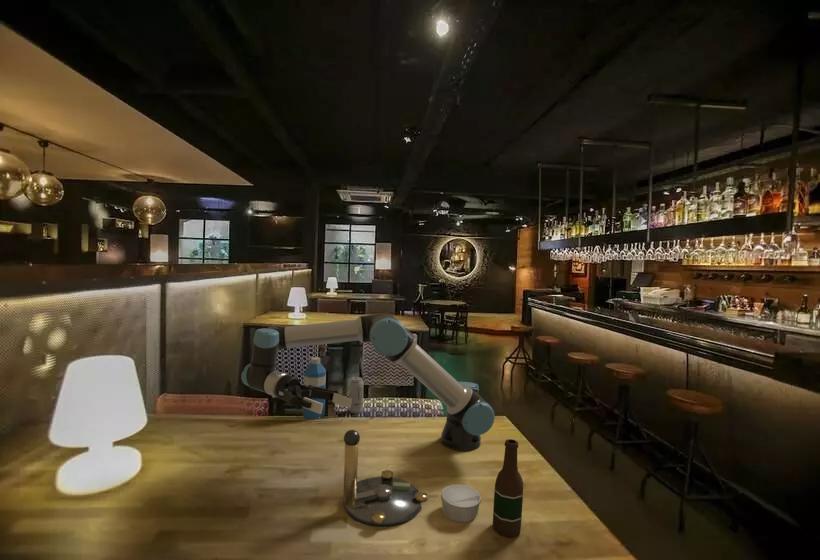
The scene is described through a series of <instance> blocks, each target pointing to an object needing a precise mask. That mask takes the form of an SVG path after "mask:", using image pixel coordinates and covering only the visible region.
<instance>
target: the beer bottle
mask: <svg viewBox="0 0 820 560" xmlns="http://www.w3.org/2000/svg"><path fill="white" fill-rule="evenodd" d="M504 446H505V447H504V449H505V450H504V456H503V463H502V469H501V470H500V471H499V472H498V473H497V476H496V479H495V483H494V492H493V511H492V513H493V514H492V530H493V531H494V532H495V533H497V534H498V535H499V536H501V537H504V538H508V539H509V538H510V539H512V538H515V537H516V538H517V537H518V536H520V534H521V529H522V528H521V527H522V518H523V517H522V515H523V501H524V480H523V477H522V474H520V472H519V469H518V448H519V442H518V441H517V440H515V439H512V438H510V439H505V442H504Z"/></svg>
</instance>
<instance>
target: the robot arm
mask: <svg viewBox="0 0 820 560" xmlns="http://www.w3.org/2000/svg"><path fill="white" fill-rule="evenodd" d="M356 341H359V342H360V343H361V344H362V343H363V344H365V343H371V345H372V347H373V348H374V350H375V351H377V352H378V353H380V354H381V355H382V356H384V357H385V358H387V359H388V360H389V361H390V362H391V363H394V364H395V363H399V364H400V365H401V366H402V367H404V369H406V371H408V372H409V373H410V374H411V375H412V376H413V377H415V378H416V379H417V380H418V381H419V382H420V383H421V384H422V385H424V386H425V388H426V389H428V390H429V391H430V392H431V393H432V394H433V395H434V396H436V397H437V398H438V400H440V401H441V402H442V403H444V405H446V421H445V424H444V426H443V428H442V432H441V435H440V441H441V442H440V443H441V444H442V445H443V446H445V447H447V448H448V449H451V450H455V451H464V452H465V451H466V452H467V451H472V450H476V449H478V448H479V447H481V442H482V441H481V440H482V437H481V435H484V434H486V433H487V432H489V431H490V430H491V429H492V428H493V425H494V423H495V418H496V417H495V416H496V415H495V411H494V408H493V407H492V406H491V405H490V403H488V402H487V401H485V399H484V398H483V397H482V396H481V395H480V394H479V391H480V388H479V384H478V383H475V382H471V381H470V382H469V381H457V380H456V378H454V377H453V376H452V375H451V374H450V373H449V372H447V371H446V369H445V368H444V367H442V365H440V364H439V363H438V362H437V361H436V360H435V359H434V358H433V357H432V356H431V355H429V354H428V353H427V352H426V351H425V350H424V349H422V348H421V346H420V345H419V344H417V343H416V341H417V340H416V336H415V335H414V334H413V333H412V332H411V331H410V330H409V329H408V328H407V327H405V325H404V324H403V323H402V322H401V321H400V320H398V318H397V317H395V316H394V315H393V314H391V313H389V312H379V313H373V314H369V315H367V314H366V315H359V316H358V317H357V318H356V319H349V320H340V321H339V320H338V321H329V322H321V323H311V324H301V325H293V326H283V327H277V326H269V327H267V328H265V327H264V328H258V329H256V330H255V331H254V337H253V342H252V353H251V361H250V363H248V364H247V365H246V366H245V367H244V368H243V371H242V372H241V377H240V378H241V381H242V383H243V384H244V385H245V386H247V387H249V388H250V389H252V390H255V391H259V392H261V393H262V392H263V393H264V394H267V395H269V396H271V397H272V398H273V399H274V398H277V399H279V400H282V401H285V403H287V404H288V405H289V406H290V407H291V408H292V407H293V408H294V407H295V409H296V410H301V408H302V409H303V408H305V409H308V410H310V411H313V412H316V413H318V414H321V413H322V408H323V404H322V403H320V402H317V401H314V400H312V399H313V398H317V399H324V400H325V401H331V402H332V403H334V404H337V405H338V406H339V405H340V406H343V407H345V408H348V409H349V408H350V407H351V403H352V399H351V398H350V397H348V396H345V395H344V394H343V395H342V394H339V391H338V390H337V389H335V390H333V389H327V388H325V389H324V388H319V387H315V386H312V385H309V386H306V385H304V384H301V382H300V379H299V378H298V377H295V376H293V375H290V374H288V373H285V372H281V371H278V370H276V369H275V367H276V363H277V362H276V360H277V355H278V350H287V349H291V348H292V349H295V348H301V347H302V348H303V347H311V346H320V345H328V344H329V345H330V344H339V343H347V342H356ZM309 394H310V395H311V396H309Z"/></svg>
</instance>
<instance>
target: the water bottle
mask: <svg viewBox="0 0 820 560" xmlns="http://www.w3.org/2000/svg"><path fill="white" fill-rule="evenodd" d="M326 377H327V370H326V368H325V367H324V366H323V364H322V363H321V357H316V356H315V357H311V358H310V363H309V365H308V366H307V367H306V369H305V371H304V372H303V385H306V386H309V385H312V386H315V387H319V388H324V389H326V385H327V384H326V381H327V380H326V379H327V378H326ZM309 396H311V395H310V394H309ZM312 400H314V401H317V402H320V403H322V404H323V408H322V413H321V414H318V413H316V412H313V411H310V410H308V409H305V408H303V407H302V409H303V410H302V411H303V413H302V414H303V418H305V419H307V420H318V419H320V418H319V417H322V418H324V417H325V414H326V400H324V399H317V398H313V399H312Z"/></svg>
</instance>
